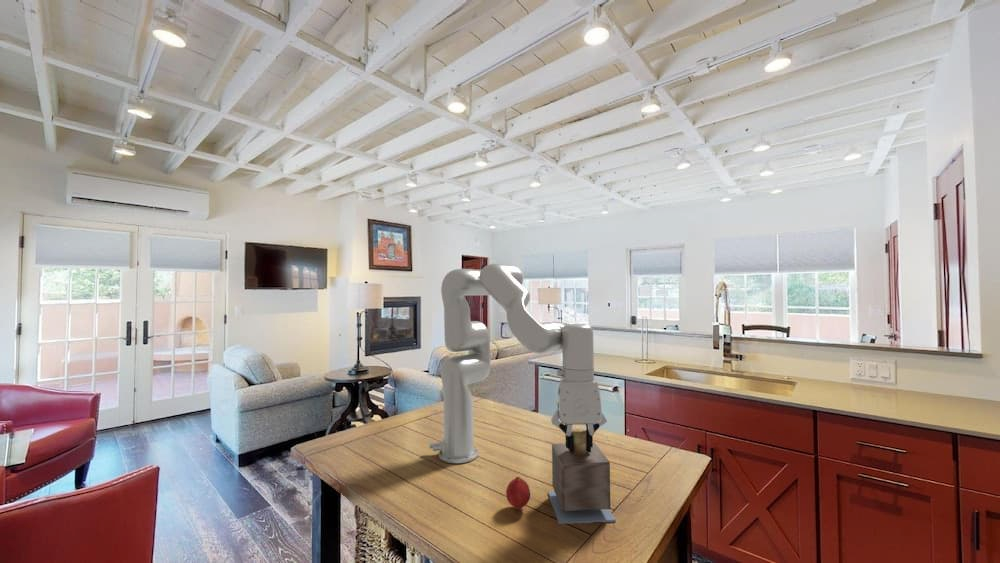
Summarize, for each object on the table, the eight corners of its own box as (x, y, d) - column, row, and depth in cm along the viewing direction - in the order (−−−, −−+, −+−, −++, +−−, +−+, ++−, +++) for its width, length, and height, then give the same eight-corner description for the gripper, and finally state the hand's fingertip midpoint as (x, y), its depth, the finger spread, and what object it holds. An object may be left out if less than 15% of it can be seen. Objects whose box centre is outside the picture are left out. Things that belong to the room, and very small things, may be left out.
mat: (558, 524, 84) (558, 521, 84) (548, 493, 97) (548, 491, 97) (615, 521, 85) (615, 519, 85) (597, 491, 98) (597, 489, 98)
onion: (505, 502, 93) (504, 470, 93) (528, 501, 93) (527, 469, 93) (507, 516, 87) (507, 482, 87) (532, 515, 87) (531, 480, 88)
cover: (562, 511, 85) (561, 441, 85) (552, 485, 96) (551, 424, 97) (610, 509, 86) (609, 440, 86) (595, 484, 97) (594, 423, 97)
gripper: (547, 378, 88) (548, 458, 87) (616, 377, 89) (618, 456, 88) (542, 372, 95) (542, 445, 95) (606, 371, 96) (607, 443, 95)
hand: (579, 449), depth 91 cm, fingers closed on cover, 3 cm apart
